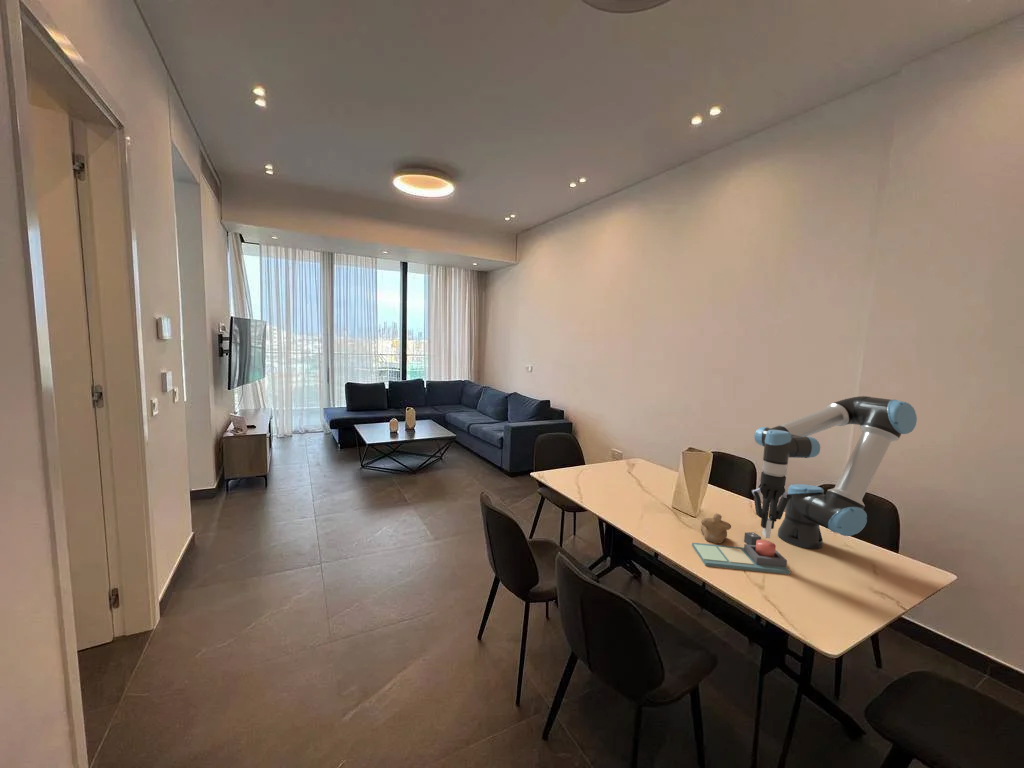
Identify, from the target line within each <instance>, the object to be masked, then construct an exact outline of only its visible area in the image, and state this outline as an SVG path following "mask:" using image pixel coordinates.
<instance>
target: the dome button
mask: <svg viewBox="0 0 1024 768" xmlns="http://www.w3.org/2000/svg"><path fill="white" fill-rule="evenodd" d="M776 546H777V545H776V544H775V542H772V541H770V540H766V539H761V540H757V541H756V549H755V552H756V553H757V554H758V555H760V556H765V557H774V556H775V550H776Z"/></svg>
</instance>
